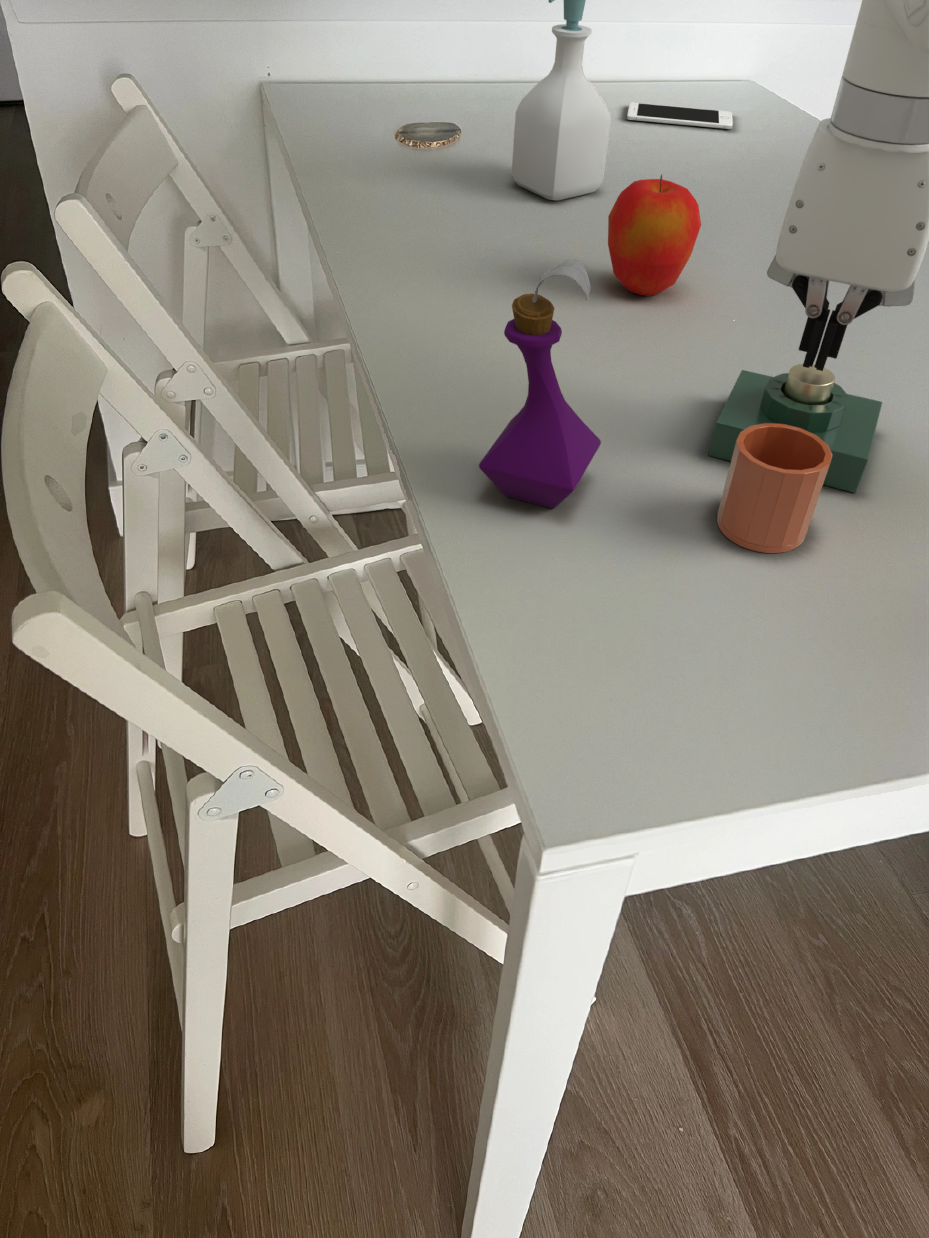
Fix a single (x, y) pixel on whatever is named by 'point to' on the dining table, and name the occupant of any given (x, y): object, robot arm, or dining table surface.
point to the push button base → (802, 423)
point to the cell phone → (680, 115)
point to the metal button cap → (809, 385)
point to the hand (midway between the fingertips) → (815, 361)
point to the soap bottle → (562, 122)
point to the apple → (652, 234)
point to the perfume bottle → (541, 411)
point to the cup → (772, 487)
